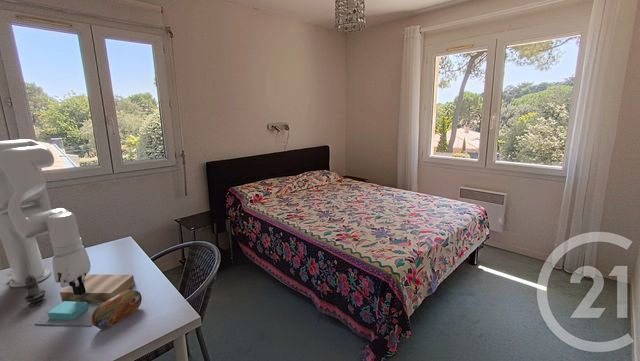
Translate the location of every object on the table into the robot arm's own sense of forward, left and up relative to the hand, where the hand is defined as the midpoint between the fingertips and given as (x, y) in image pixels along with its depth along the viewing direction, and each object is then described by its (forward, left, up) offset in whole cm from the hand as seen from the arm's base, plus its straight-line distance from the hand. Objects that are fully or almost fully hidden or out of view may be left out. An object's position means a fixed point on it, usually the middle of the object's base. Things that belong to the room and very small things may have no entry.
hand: (80, 293), depth 105 cm
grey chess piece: (-19, +1, -5) cm, 20 cm away
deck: (0, +8, -5) cm, 9 cm away
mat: (+2, -5, -5) cm, 7 cm away
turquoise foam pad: (-1, -5, -2) cm, 5 cm away
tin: (+19, -6, -5) cm, 21 cm away
